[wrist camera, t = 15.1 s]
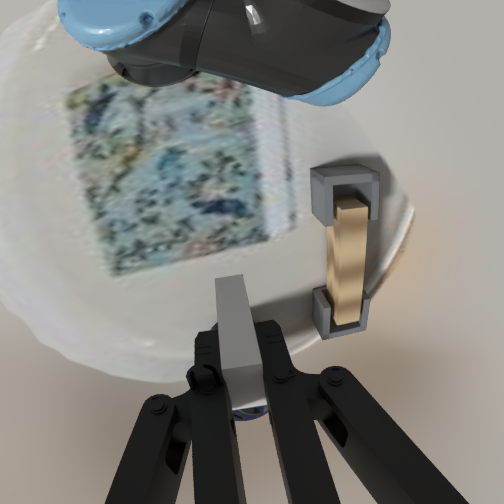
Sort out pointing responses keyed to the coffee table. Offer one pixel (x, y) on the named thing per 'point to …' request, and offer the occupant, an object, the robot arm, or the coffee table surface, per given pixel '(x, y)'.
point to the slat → (346, 258)
